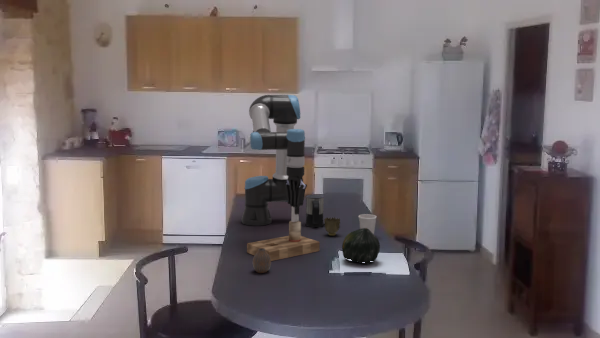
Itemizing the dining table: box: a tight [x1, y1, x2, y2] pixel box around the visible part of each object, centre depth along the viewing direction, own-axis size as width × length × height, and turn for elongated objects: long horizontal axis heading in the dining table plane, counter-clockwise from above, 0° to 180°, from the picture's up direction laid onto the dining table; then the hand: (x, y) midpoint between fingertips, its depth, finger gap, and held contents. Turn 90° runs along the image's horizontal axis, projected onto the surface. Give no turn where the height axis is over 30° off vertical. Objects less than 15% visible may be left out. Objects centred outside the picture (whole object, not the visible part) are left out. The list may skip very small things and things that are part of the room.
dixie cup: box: [357, 213, 377, 235], centre depth 289 cm, size 8×8×10 cm
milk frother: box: [305, 194, 325, 228], centre depth 311 cm, size 14×16×15 cm
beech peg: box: [288, 220, 302, 242], centre depth 267 cm, size 5×5×12 cm
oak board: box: [246, 235, 321, 262], centre depth 263 cm, size 16×26×4 cm, turn 128°
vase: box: [252, 248, 272, 274], centre depth 236 cm, size 7×7×9 cm
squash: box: [341, 228, 381, 265], centre depth 249 cm, size 14×15×15 cm
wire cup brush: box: [323, 216, 341, 237], centre depth 292 cm, size 8×7×8 cm
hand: (295, 221), depth 266 cm, fingers closed
